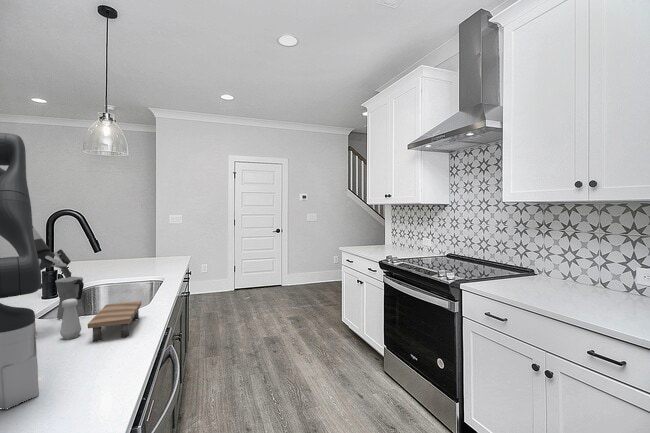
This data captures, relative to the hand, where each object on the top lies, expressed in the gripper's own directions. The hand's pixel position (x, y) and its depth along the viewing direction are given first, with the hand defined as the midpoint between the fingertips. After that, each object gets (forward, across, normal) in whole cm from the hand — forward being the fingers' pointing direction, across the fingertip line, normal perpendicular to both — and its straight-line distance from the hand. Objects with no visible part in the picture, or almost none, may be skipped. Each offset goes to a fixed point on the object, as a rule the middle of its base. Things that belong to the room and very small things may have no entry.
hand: (55, 282), depth 115 cm
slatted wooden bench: (+25, +6, -5) cm, 27 cm away
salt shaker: (+20, -5, +1) cm, 20 cm away
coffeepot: (+12, +8, +23) cm, 27 cm away
